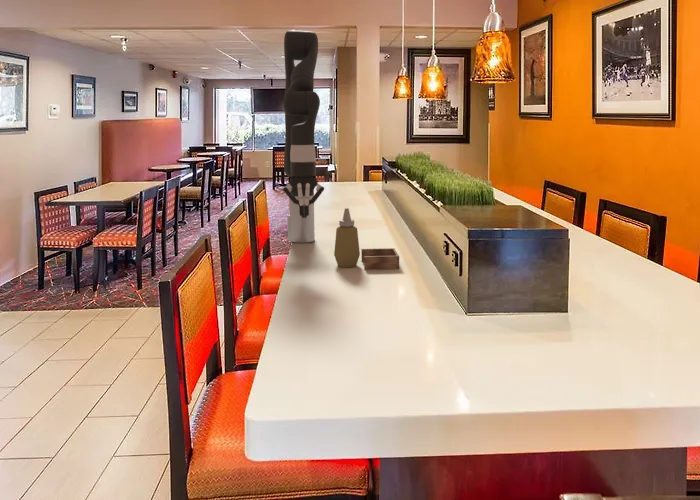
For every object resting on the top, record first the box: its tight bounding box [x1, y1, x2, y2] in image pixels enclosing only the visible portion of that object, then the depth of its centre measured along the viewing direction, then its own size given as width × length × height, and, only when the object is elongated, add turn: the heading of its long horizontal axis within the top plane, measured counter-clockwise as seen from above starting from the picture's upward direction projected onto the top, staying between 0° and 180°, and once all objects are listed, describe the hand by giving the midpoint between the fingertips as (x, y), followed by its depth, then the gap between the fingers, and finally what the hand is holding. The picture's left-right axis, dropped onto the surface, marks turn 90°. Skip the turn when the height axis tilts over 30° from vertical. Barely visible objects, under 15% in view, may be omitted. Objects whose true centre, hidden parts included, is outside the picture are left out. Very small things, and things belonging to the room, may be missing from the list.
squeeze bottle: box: [333, 207, 361, 268], centre depth 184 cm, size 8×8×18 cm
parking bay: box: [361, 247, 400, 271], centre depth 186 cm, size 11×11×4 cm
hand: (304, 217), depth 182 cm, fingers closed
